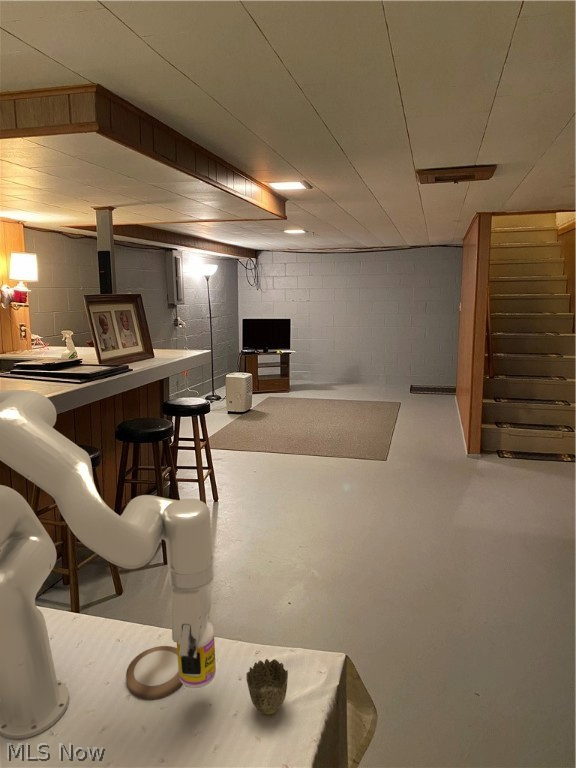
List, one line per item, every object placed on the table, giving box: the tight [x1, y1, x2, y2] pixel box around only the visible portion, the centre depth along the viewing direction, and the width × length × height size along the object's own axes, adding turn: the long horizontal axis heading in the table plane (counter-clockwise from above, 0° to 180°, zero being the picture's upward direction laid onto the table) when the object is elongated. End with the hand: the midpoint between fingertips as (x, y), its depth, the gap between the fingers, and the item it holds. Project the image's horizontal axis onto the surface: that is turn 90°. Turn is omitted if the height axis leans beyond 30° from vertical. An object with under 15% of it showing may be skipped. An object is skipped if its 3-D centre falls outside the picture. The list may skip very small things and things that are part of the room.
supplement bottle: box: [176, 614, 217, 689], centre depth 100 cm, size 7×7×13 cm
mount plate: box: [125, 645, 184, 700], centre depth 111 cm, size 12×12×2 cm
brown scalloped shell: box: [245, 658, 289, 717], centre depth 101 cm, size 8×7×8 cm
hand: (196, 656), depth 100 cm, fingers closed on supplement bottle, 6 cm apart
